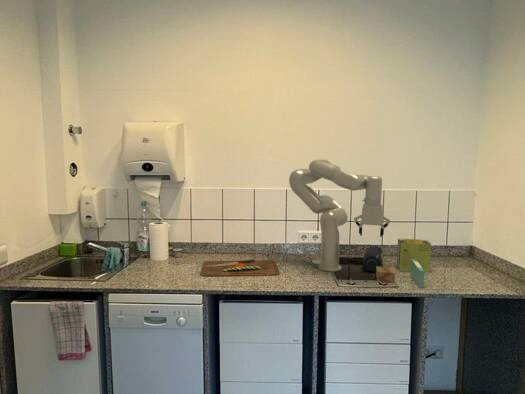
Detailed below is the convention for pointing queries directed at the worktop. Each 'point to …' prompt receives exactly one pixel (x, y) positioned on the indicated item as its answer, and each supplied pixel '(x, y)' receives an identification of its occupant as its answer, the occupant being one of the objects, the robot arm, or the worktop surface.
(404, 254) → the protein box
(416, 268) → the teal board
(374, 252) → the portable speaker
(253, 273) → the chopping board
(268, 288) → the worktop surface
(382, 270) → the brown rectangular box
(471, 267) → the worktop surface
